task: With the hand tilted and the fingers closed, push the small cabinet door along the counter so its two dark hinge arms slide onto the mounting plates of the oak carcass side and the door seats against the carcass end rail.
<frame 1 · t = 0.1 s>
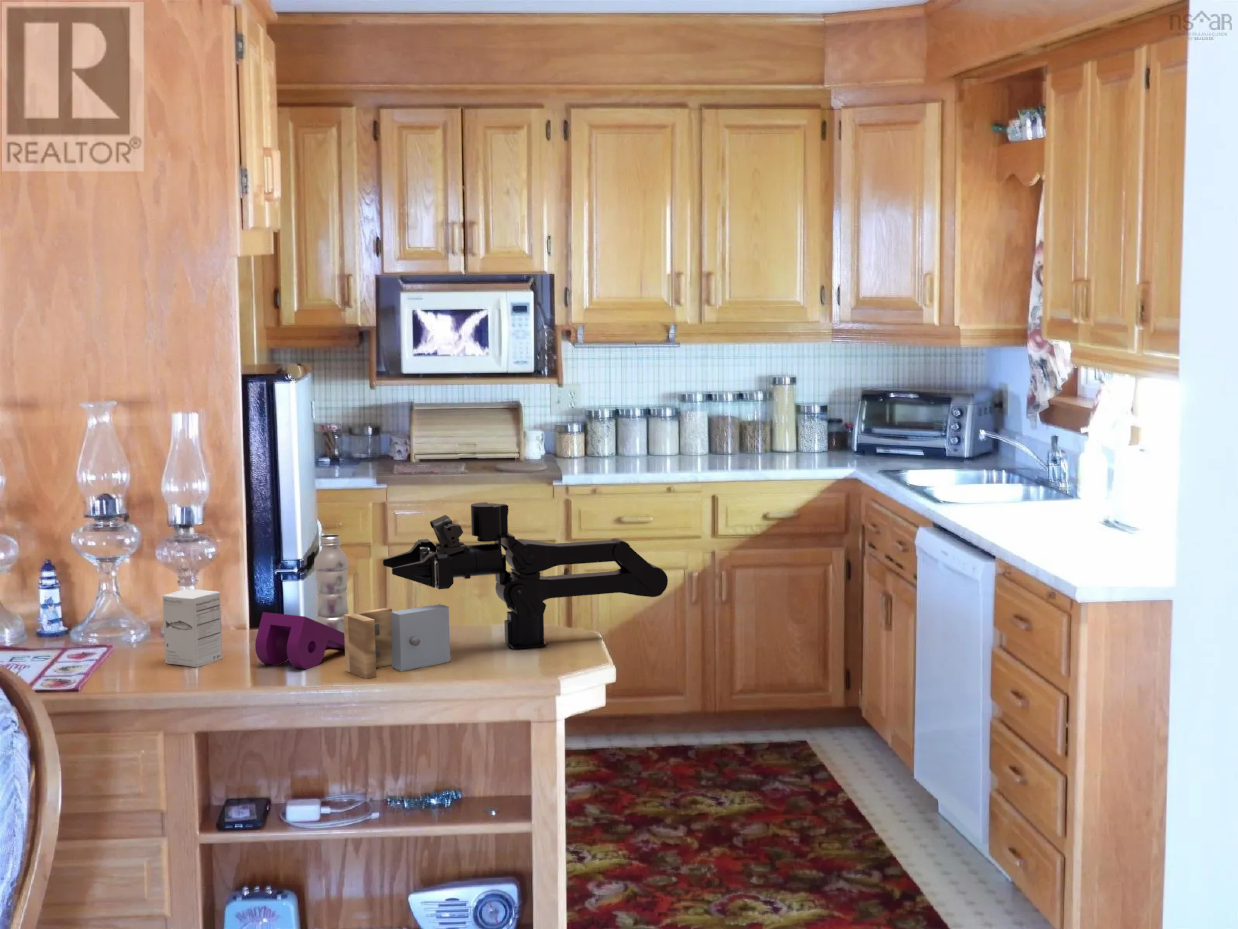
hand: (387, 566, 266), 17 cm above the countertop, tool horizontal, fingers open, 9 cm apart
plastic bottle: (333, 640, 282), on the countertop
door: (421, 637, 261), point 5 cm above the countertop, slide at 0.0 cm
mounting bracket: (310, 660, 268), on the countertop
supplement box: (194, 662, 266), on the countertop
carcass: (421, 664, 262), on the countertop
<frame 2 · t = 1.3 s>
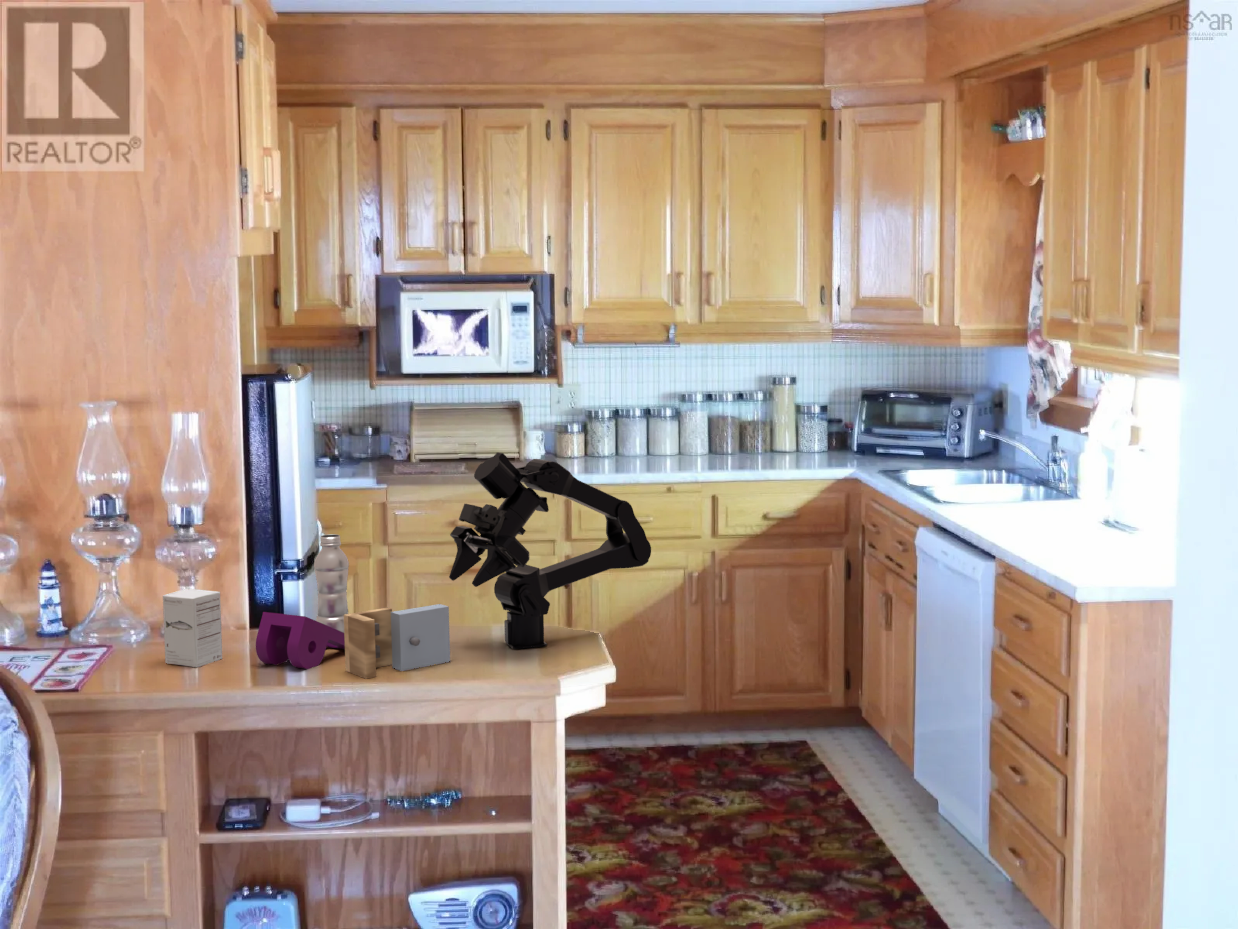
hand: (462, 582, 266), 14 cm above the countertop, tool tilted 45°, fingers open, 7 cm apart
nothing on the countertop moved.
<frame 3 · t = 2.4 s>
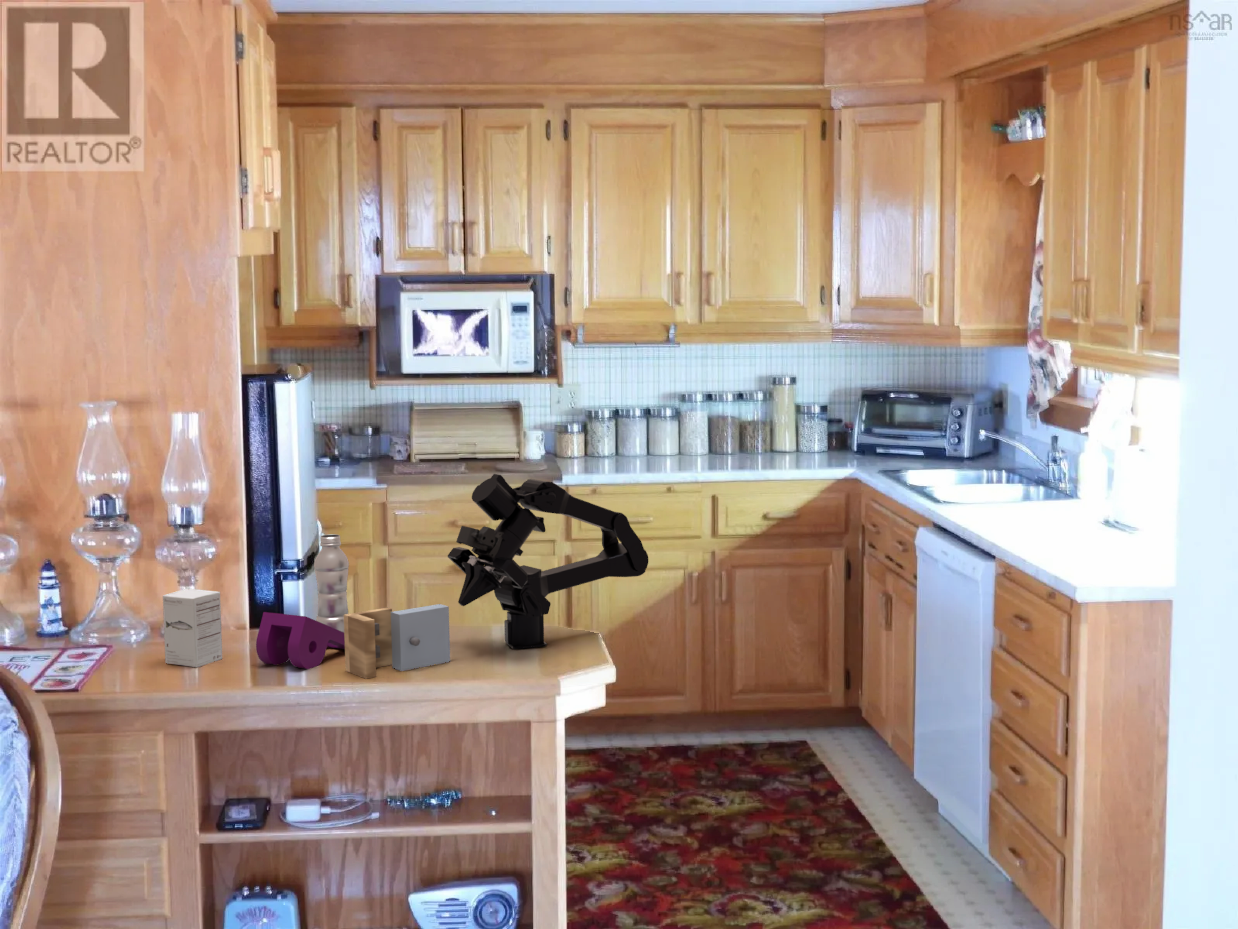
hand: (460, 604, 266), 10 cm above the countertop, tool tilted 45°, fingers closed
nothing on the countertop moved.
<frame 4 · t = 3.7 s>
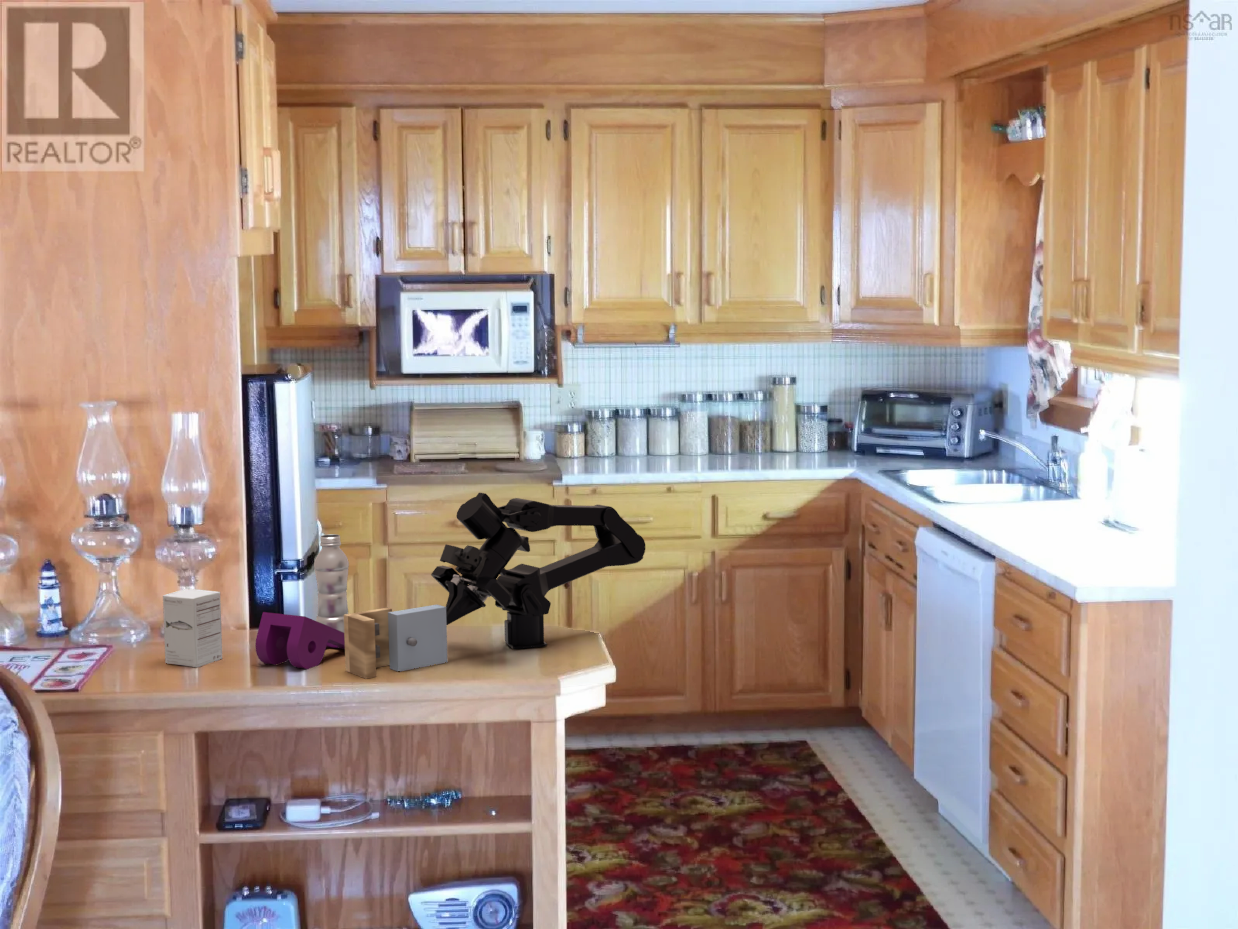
hand: (443, 623, 264), 7 cm above the countertop, tool tilted 45°, fingers closed, pressing on door
door: (419, 638, 260), point 5 cm above the countertop, slide at 0.6 cm, touching gripper
everything else where it was.
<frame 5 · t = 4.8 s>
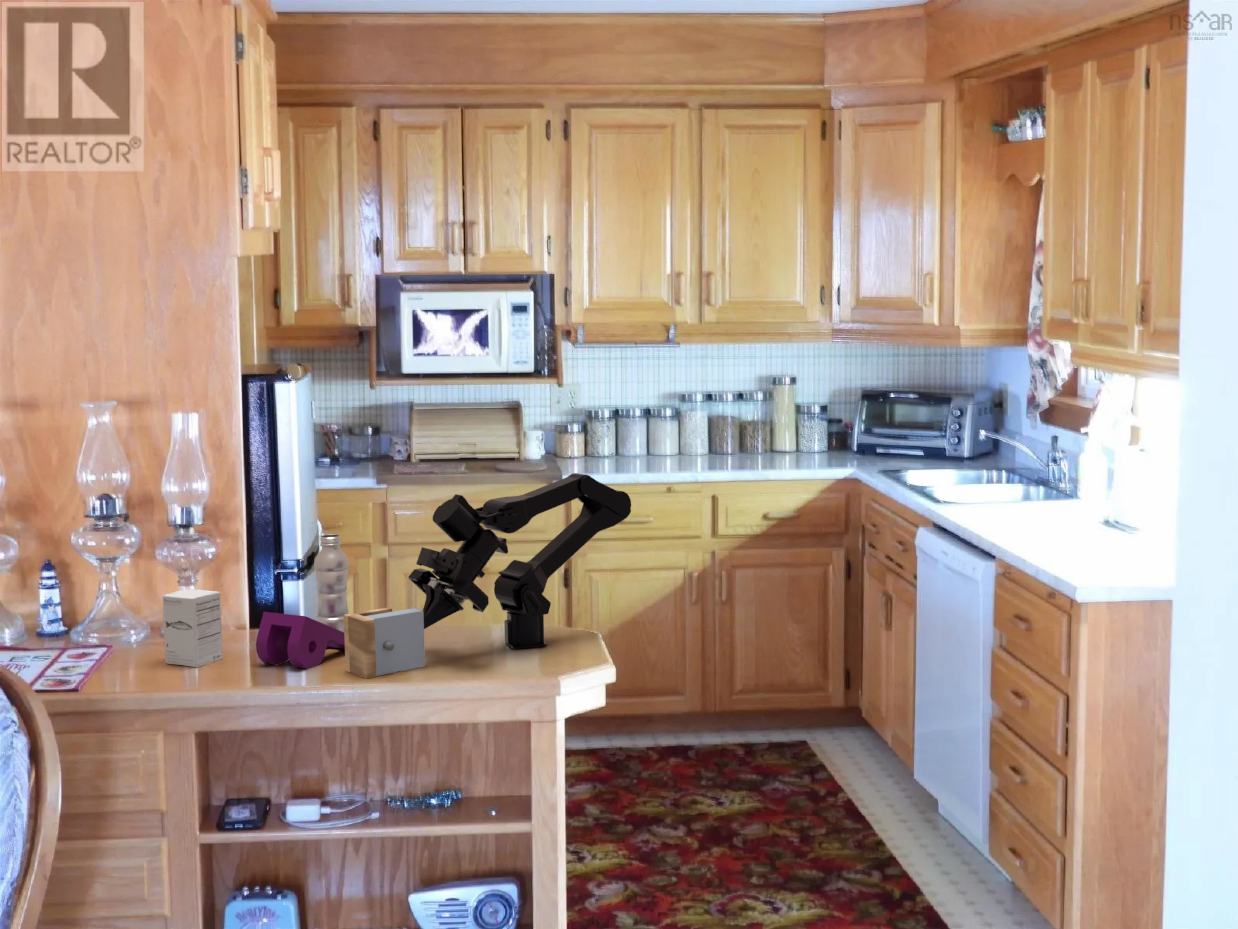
hand: (420, 627, 261), 7 cm above the countertop, tool tilted 45°, fingers closed, pressing on door
door: (396, 642, 258), point 5 cm above the countertop, slide at 5.2 cm, touching carcass, gripper
everything else where it was.
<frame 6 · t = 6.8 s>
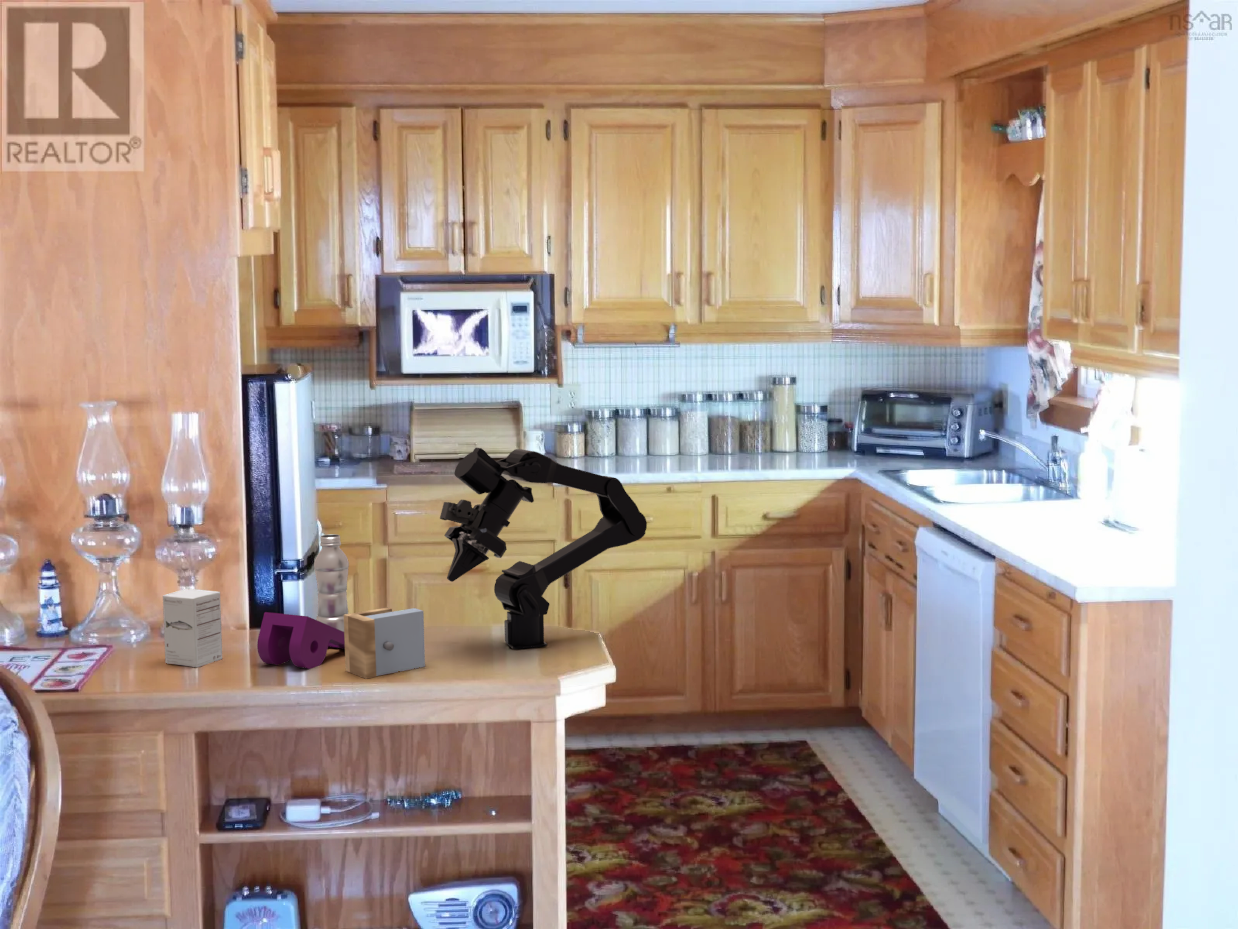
hand: (449, 580, 266), 14 cm above the countertop, tool tilted 40°, fingers closed
door: (396, 642, 258), point 5 cm above the countertop, slide at 5.2 cm
everything else where it was.
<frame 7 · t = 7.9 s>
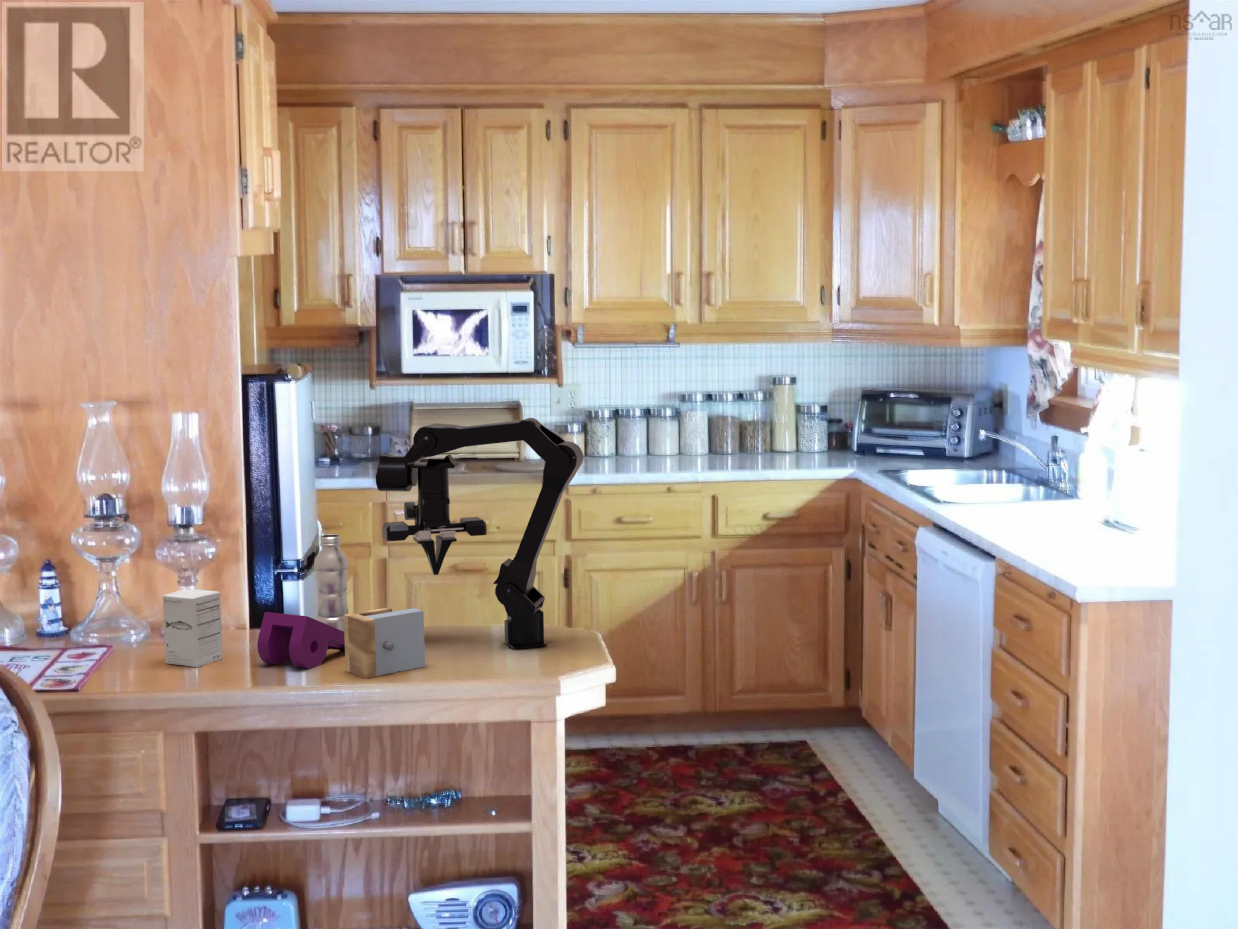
hand: (435, 574, 277), 13 cm above the countertop, tool pointing down, fingers closed
nothing on the countertop moved.
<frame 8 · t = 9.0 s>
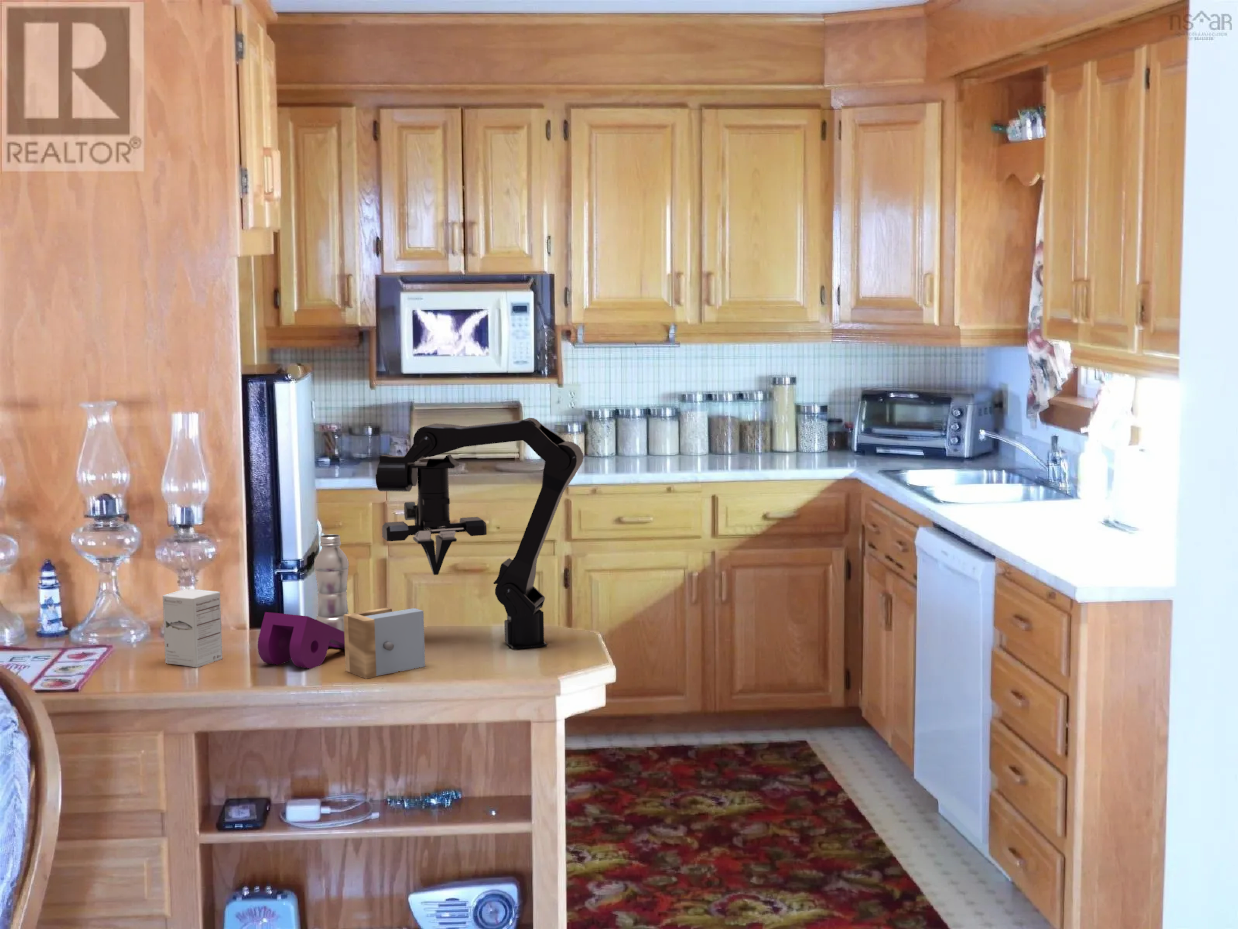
hand: (435, 574, 277), 13 cm above the countertop, tool pointing down, fingers closed
nothing on the countertop moved.
at the end: door slide at 5.2 cm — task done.
